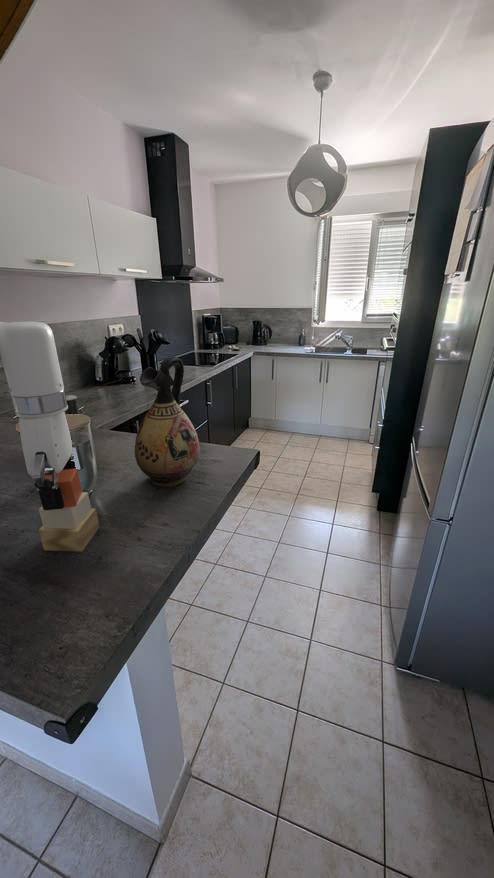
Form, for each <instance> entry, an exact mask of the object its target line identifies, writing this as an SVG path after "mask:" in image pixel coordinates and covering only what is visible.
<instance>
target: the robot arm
mask: <svg viewBox="0 0 494 878" xmlns="http://www.w3.org/2000/svg"><path fill="white" fill-rule="evenodd" d="M60 365H61V364H60V361H59V355H58V351H57V346H56V341H55V337H54V332H53V330H52V328H51V327H50V326H49V325H48V324H47V323H45V322H43V321H42V322H41V321H12V322H5V321H0V369H1V368H3V370H4V371H3V372H4V374H5V379H6V381H7V386H8V389H9V393H10V397H11V401H12V405H13V409H14V412H15V416H16V417H18V424H19V425H18V426H19V435H20V443H21V448H22V452H23V457H24V462H25V466H26V470H27V474H28V475H29V476H30V477H31V479H32V482H34V484H33V485H34V486H35V489H36V491H37V492H38V495H39V499H40V503H41V506H42V507H43V509H44V510H55V509H63V508H64V506H65V505H64V500H63V496H62V492H61V488H60V486H58V473H59V472H61V471H62V470H66V469H76V467H75V462H74V461H71V460H73V459H74V456H73V454H72V451H73V447H72V440H71V435H70V431H69V426H68V423H67V419H66V415H65V412H64V411H66V410H67V409H68V405H67V400H66V396H67V394H66V391H65V386H64V379H63V376H62V371H61V370H62V369H61V366H60ZM47 475H52V482H51V481H50V480H49V479H45V476H47Z"/></svg>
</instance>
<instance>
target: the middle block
mask: <svg viewBox="0 0 494 878" xmlns="http://www.w3.org/2000/svg"><path fill="white" fill-rule="evenodd" d="M91 508H92V506H91V501H90V497H89V492H87V491H82V493H81V496H80V498H79V501H78V503H77V505H76V506H71V507H64V508H63V509H55V510H44V509H43V507H42V505H41V506H40V507H39V508H38V513H39V515H40V520H41V523H42V526H43V527H44V528H62V529H76V528H77V527H78V526H79V525H80V523H81V522H82V521H83V520H84V518H85V517H86V516H87V515H88V514H89V512H90V511H91Z"/></svg>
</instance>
